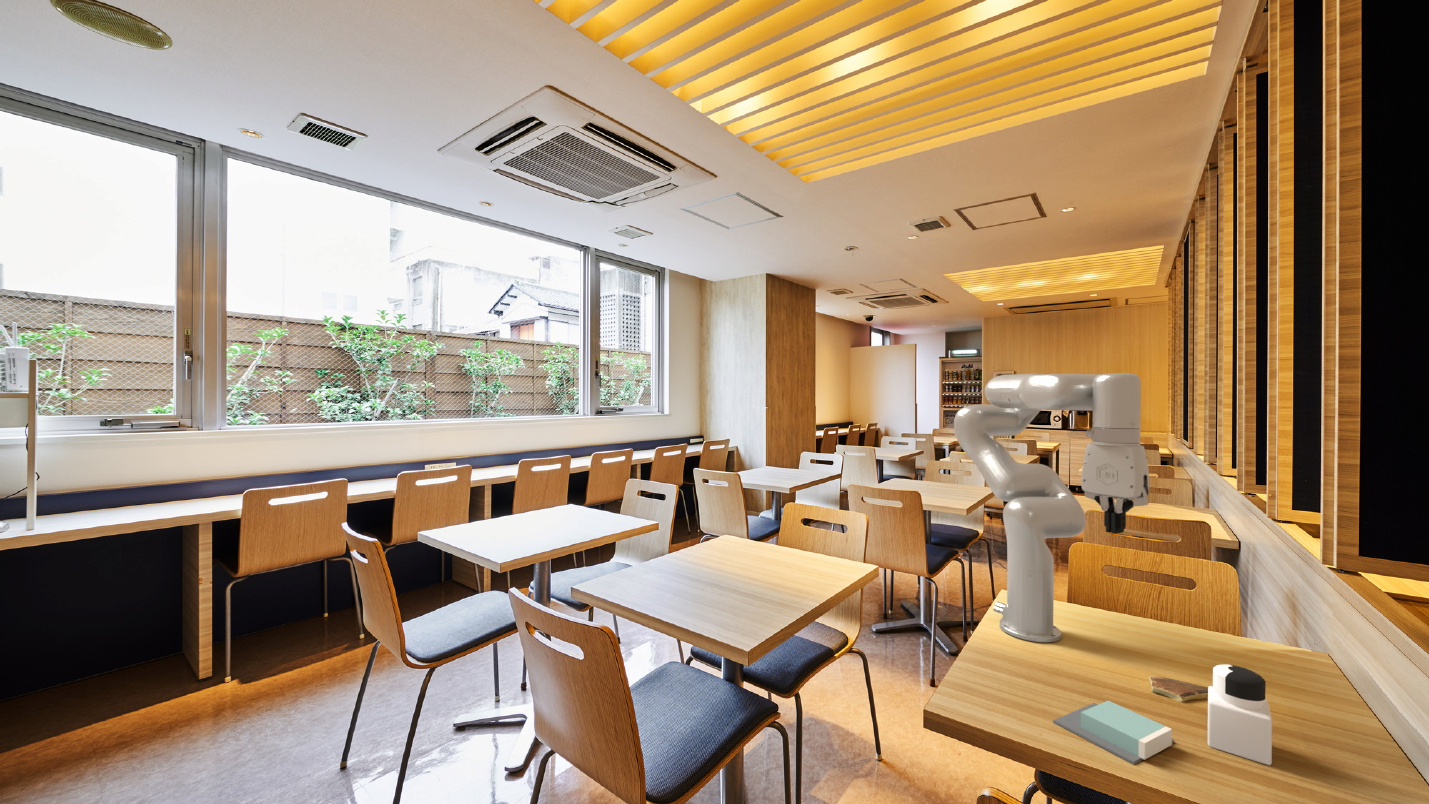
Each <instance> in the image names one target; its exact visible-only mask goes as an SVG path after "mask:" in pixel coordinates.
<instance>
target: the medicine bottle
mask: <svg viewBox="0 0 1429 804" xmlns="http://www.w3.org/2000/svg"><path fill="white" fill-rule="evenodd" d="M1207 687H1208V698H1207V746H1208V747H1210V748H1213V749H1215V750H1216V749H1217V750H1219V751H1223V752H1225V753H1228V754H1231V755H1235V756H1238V757H1241V758H1244V759H1248V760H1250V761H1254V762H1257V763H1260V764H1264V765H1267V766H1271V765H1272V763H1273V762H1272V761H1273V760H1272V757H1273V756H1272V754H1273V751H1272V750H1273V718H1272V714H1271V709H1270V703H1269V701H1268V700H1266V690H1267V689H1266V687H1267V686H1266V680H1265V679H1264V678H1263V676H1262V675H1260V674H1259V673H1257V672H1255V671H1254V670H1253V671H1252V670H1251V669H1248V668H1246V667H1244V666H1243V667H1242V666H1239V665H1235V664H1217V665H1215V666H1213V668H1212V685H1209V686H1207Z"/></svg>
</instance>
